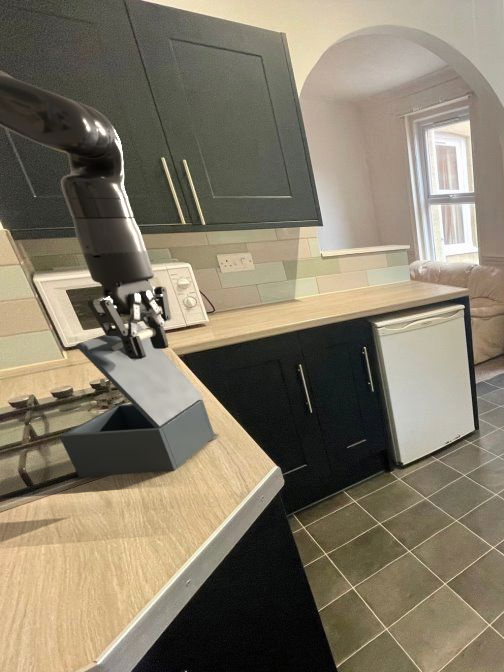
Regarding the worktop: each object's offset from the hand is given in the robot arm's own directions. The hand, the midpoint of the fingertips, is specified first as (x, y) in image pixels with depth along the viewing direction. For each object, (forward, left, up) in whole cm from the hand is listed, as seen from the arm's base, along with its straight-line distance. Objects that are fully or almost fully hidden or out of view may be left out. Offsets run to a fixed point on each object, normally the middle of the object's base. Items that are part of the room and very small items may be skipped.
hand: (149, 352), depth 72 cm
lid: (-2, 0, -4) cm, 4 cm away
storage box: (-6, 0, -22) cm, 22 cm away
